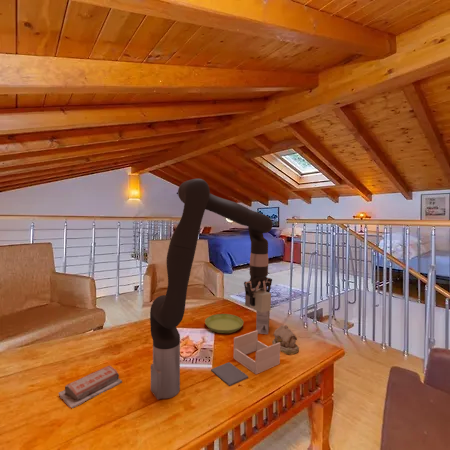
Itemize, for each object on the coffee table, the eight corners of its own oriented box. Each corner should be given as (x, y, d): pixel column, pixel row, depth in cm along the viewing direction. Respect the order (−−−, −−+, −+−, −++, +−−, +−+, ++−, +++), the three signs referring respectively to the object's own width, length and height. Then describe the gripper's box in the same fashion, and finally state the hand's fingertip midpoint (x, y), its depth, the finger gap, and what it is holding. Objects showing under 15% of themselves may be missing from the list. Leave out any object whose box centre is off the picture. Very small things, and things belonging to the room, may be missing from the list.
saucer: (199, 322, 160) (199, 317, 160) (232, 317, 169) (232, 311, 169) (214, 338, 141) (214, 332, 141) (250, 331, 150) (250, 325, 150)
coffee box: (257, 326, 157) (258, 296, 155) (269, 327, 155) (270, 297, 154) (255, 333, 148) (256, 302, 146) (268, 334, 146) (269, 303, 145)
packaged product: (107, 361, 112) (122, 371, 106) (107, 373, 112) (122, 383, 106) (57, 383, 98) (71, 396, 91) (58, 397, 98) (71, 411, 92)
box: (261, 312, 115) (262, 295, 114) (245, 305, 123) (245, 289, 122) (270, 310, 118) (271, 293, 117) (253, 303, 126) (254, 287, 125)
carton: (256, 374, 112) (256, 352, 112) (233, 358, 124) (233, 337, 123) (279, 363, 120) (280, 342, 119) (256, 349, 131) (256, 330, 131)
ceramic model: (267, 342, 139) (267, 322, 138) (286, 338, 144) (287, 318, 143) (285, 356, 126) (285, 334, 125) (305, 351, 131) (306, 330, 130)
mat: (229, 386, 105) (229, 384, 105) (211, 370, 114) (211, 369, 114) (248, 377, 110) (248, 376, 110) (229, 363, 120) (229, 362, 120)
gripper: (252, 267, 111) (250, 310, 113) (277, 263, 120) (276, 303, 121) (239, 264, 117) (238, 305, 119) (265, 260, 126) (263, 298, 127)
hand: (257, 304), depth 120 cm, fingers closed on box, 5 cm apart
